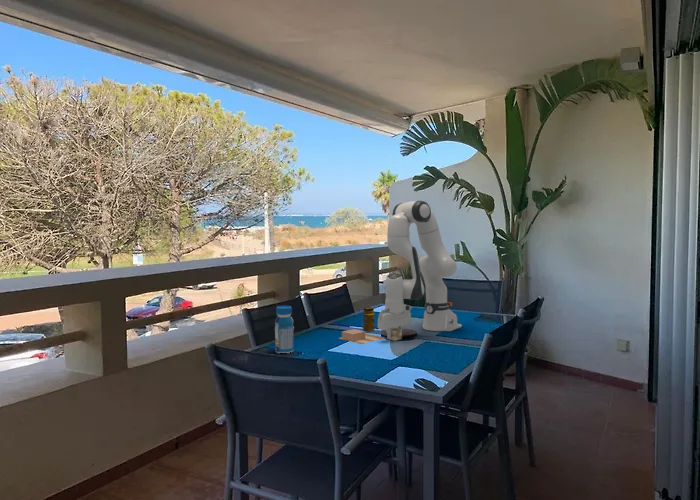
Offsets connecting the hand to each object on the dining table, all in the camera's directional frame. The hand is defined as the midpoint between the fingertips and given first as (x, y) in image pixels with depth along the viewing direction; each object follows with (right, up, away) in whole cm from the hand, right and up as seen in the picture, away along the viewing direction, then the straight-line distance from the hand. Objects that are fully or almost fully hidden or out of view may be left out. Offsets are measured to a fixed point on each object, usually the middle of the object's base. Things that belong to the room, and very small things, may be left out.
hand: (394, 336), depth 237 cm
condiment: (-13, -1, +20) cm, 23 cm away
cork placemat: (-15, -2, +2) cm, 16 cm away
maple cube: (0, -2, 0) cm, 2 cm away
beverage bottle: (-50, -4, -20) cm, 54 cm away
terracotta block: (-20, -1, +1) cm, 20 cm away
